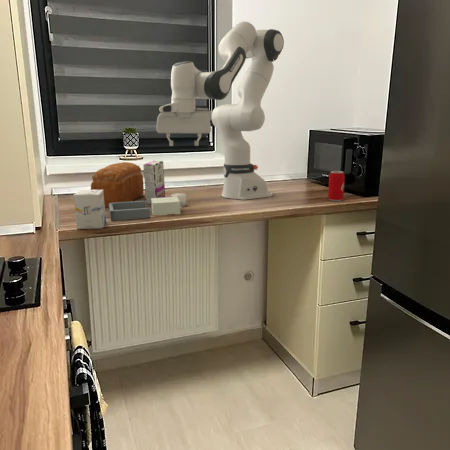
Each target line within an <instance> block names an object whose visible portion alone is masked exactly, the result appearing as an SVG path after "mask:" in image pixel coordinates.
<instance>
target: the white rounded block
mask: <svg viewBox="0 0 450 450" xmlns="http://www.w3.org/2000/svg"><path fill="white" fill-rule="evenodd" d="M170 197H177V198H178V199H179V201H180V208H183V207H186V206H187V194H186V193H184V192H174V193H171V194H170Z"/></svg>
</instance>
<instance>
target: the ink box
mask: <svg viewBox="0 0 450 450" xmlns="http://www.w3.org/2000/svg"><path fill="white" fill-rule="evenodd" d="M72 196H73V203H74V211H75V212H74V213H75V223H76V229H77V230H83V229H84V230H85V229H103V228H104V227H105V224H106V222H107V217H106V207H105V204H104V193H103V190H91V189H81V190H78V191H76V192H75V193H74V194H73V195H72Z"/></svg>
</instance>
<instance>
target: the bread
mask: <svg viewBox="0 0 450 450" xmlns="http://www.w3.org/2000/svg"><path fill="white" fill-rule="evenodd" d="M141 172H142V168H141V167H140V165H137V164H136V163H134V162H128V161H127V162H125V161H123V162H118V163H117V162H116V163H112V164H109V165H107V166H105V167H102V168H100V169H98V170H97V171H96V172H95V173H93V175H92V182H91V184H90V190H103V193H104V204H105V208H109V203H116V202H131V201H135V200H137V199H140V198H141V197H143V196H144V191H145V186H144V174H142V173H141Z"/></svg>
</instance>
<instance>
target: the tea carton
mask: <svg viewBox="0 0 450 450" xmlns="http://www.w3.org/2000/svg"><path fill="white" fill-rule="evenodd" d="M150 207H151V209H150V210H151V212H152V216H153V215H159V216H168V215H167V214H175V215H181V207H180V201H179V199H178V198H177V197H171V196H168V197H167V196H165V198H151V204H150Z"/></svg>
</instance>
